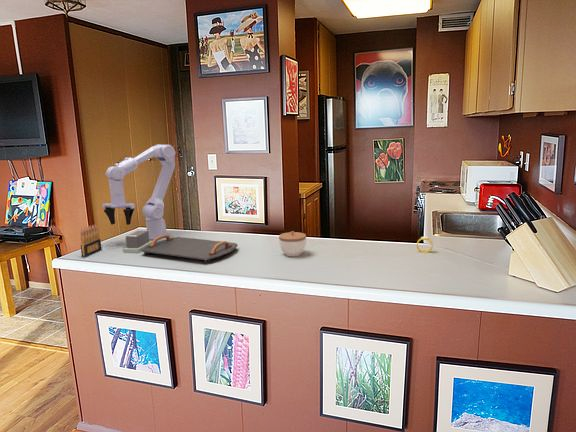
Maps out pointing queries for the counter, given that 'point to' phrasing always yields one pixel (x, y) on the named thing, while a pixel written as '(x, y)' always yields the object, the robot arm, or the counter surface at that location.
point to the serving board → (189, 247)
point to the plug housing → (137, 239)
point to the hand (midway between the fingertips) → (120, 224)
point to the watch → (425, 239)
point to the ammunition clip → (90, 241)
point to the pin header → (136, 250)
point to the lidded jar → (292, 243)
